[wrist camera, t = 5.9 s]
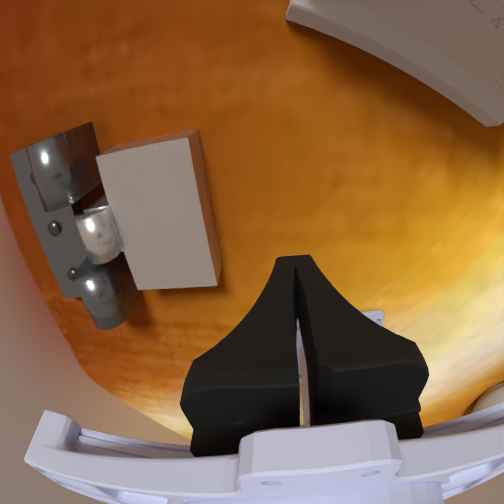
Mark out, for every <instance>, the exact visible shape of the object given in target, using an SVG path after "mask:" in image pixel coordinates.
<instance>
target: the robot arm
mask: <svg viewBox="0 0 504 504" xmlns="http://www.w3.org/2000/svg"><path fill="white" fill-rule="evenodd" d="M297 317H298V318H297ZM377 319H379V320H377ZM383 320H384V313H383V311H381V310H376V311H368V312H360V311H358V310H357V309H356V308H355V307H354V306H352V305H351V304H350V303H349V302H348V301H347V300H346V299H345V298H344V297H343V296H342V295H341V294H340V293H339V292H338V291H337V290H336V289H335V288H334V287H333V286H332V284H331V283H330V282H329V281H328V280H327V278H326V277H325V276H324V275H323V273H322V272H321V271H320V269H319V268H318V266H317V265H316V263H315V262H314V260H313V258H312V257H311V256H310V255H297V256H284V257H278V258H277V259H276V261H275V265H274V268H273V271H272V273H271V276H270V278H269V280H268V282H267V284H266V286H265V288H264V290H263V291H262V293H261V295H260V296H259V298H258V300H257V301H256V303H255V304H254V306H253V307H252V308H251V310H250V311H249V312H248V314H247V315H246V316H245V317H244V318H243V320H242V321H241V322H240V323H239V324H238V325H237V326H236V327H235V328H234V329H233V330H232V331H231V332H230V333H229V334H228V335H227V336H226V337H225V338H224V339H222V340H221V341H220V342H219V343H218V344H217V345H215V346H214V347H213V348H211V349H210V350H208V351H207V352H206V353H204V354H203V355H201V356H200V357H198V358H196V359H195V360H194V361H193V363H192V365H191V367H190V369H189V372H188V374H187V377H186V379H185V382H184V386H183V391H182V396H181V401H180V406H181V409H182V411H183V413H184V414H185V416H186V418H187V419H188V421H189V423H190V424H191V426H192V428H193V435H192V440H191V446H187V445H176V444H168V443H159V442H152V441H145V440H139V439H132V438H127V437H121V436H116V435H111V434H106V433H102V432H97V431H93V430H89V429H84V428H81V427H80V426H79V424H78V423H77V422H76V421H75V420H74V419H72V418H71V417H69V416H66V415H64V414H61V413H57V412H53V411H50V410H45V411H44V414H43V416H42V418H41V420H40V423H39V425H38V427H37V429H36V432H35V434H34V436H33V439H32V441H31V443H30V446H29V448H28V451H27V453H26V456H25V458H24V460H25V462H26V463H28V464H29V465H31V466H32V467H33V468H35V469H36V470H38V471H39V472H41V473H42V474H44V475H45V476H47V477H48V478H50V479H51V480H53V481H55V482H56V483H58V484H59V485H61V486H63V487H65V488H68V489H70V490H73V491H75V492H78V493H81V494H83V495H86V496H89V497H91V498H94V499H97V500H100V501H103V502H105V503H109V504H444V499H447V498H449V497H452V496H454V495H457V494H459V493H461V492H464V491H466V490H468V489H471V488H473V487H475V486H477V485H479V484H481V483H483V482H485V481H487V480H489V479H491V478H493V477H495V476H497V475H499V474H501V473H503V472H504V402H501V403H499V404H496V405H493V406H491V407H488V408H485V409H483V410H480V411H477V412H474V413H471V414H468V415H465V416H462V417H459V418H456V419H453V420H449V421H446V422H442V423H439V424H435V425H432V426H428V427H424V428H423V427H422V423H421V419H420V416H419V412H420V410H421V406H420V403H419V400H418V398H419V397H420V395H421V393H422V391H423V389H424V387H425V385H426V383H427V380H428V377H429V371H428V367H427V364H426V362H425V359H424V357H423V355H422V353H421V352H420V350H419V348H418V347H417V345H416V343H415V342H413V341H411V340H409V339H406V338H404V337H402V336H400V335H397V334H395V333H393V332H391V331H389V330H388V329H386V328H384V327H382V325H383ZM298 327H299V328H298ZM299 384H302V400H303V418H304V425H300V388H299Z"/></svg>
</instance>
